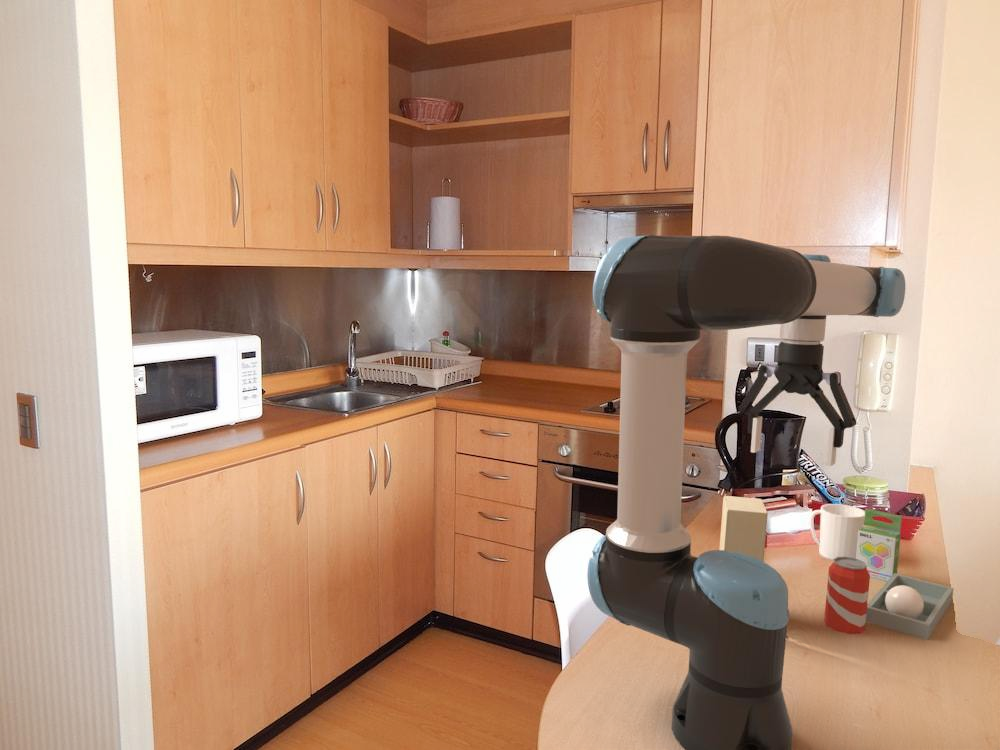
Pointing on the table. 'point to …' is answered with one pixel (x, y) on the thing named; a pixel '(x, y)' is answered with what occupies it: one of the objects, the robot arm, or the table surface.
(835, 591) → the beverage can
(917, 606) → the egg
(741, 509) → the beige tall block
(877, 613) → the tray
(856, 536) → the mug
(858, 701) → the table surface
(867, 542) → the ink box
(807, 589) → the table surface
